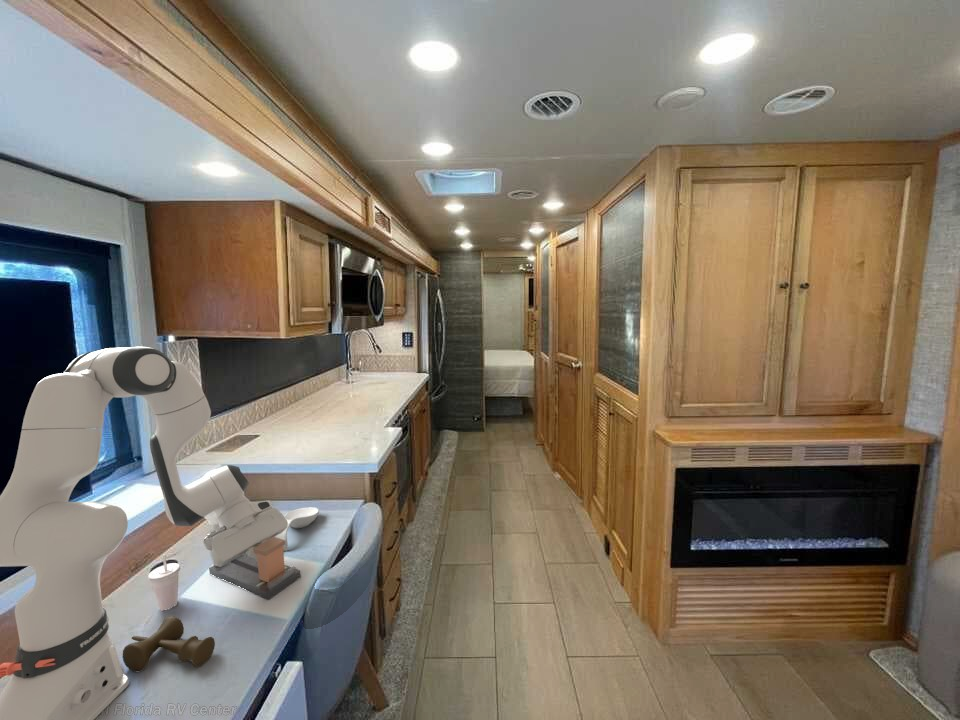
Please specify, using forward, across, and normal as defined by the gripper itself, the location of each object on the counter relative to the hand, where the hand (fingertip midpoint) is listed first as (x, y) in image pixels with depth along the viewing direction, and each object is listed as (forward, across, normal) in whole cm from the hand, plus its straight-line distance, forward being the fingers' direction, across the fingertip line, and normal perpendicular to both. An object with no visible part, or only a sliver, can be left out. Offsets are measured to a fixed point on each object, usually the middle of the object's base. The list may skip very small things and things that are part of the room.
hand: (264, 559), depth 109 cm
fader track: (+1, 0, +8) cm, 8 cm away
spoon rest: (-6, +21, +16) cm, 27 cm away
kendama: (+7, -25, +2) cm, 26 cm away
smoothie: (-6, -17, +15) cm, 24 cm away
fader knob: (+5, 0, +1) cm, 5 cm away
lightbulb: (-25, +10, +35) cm, 44 cm away
